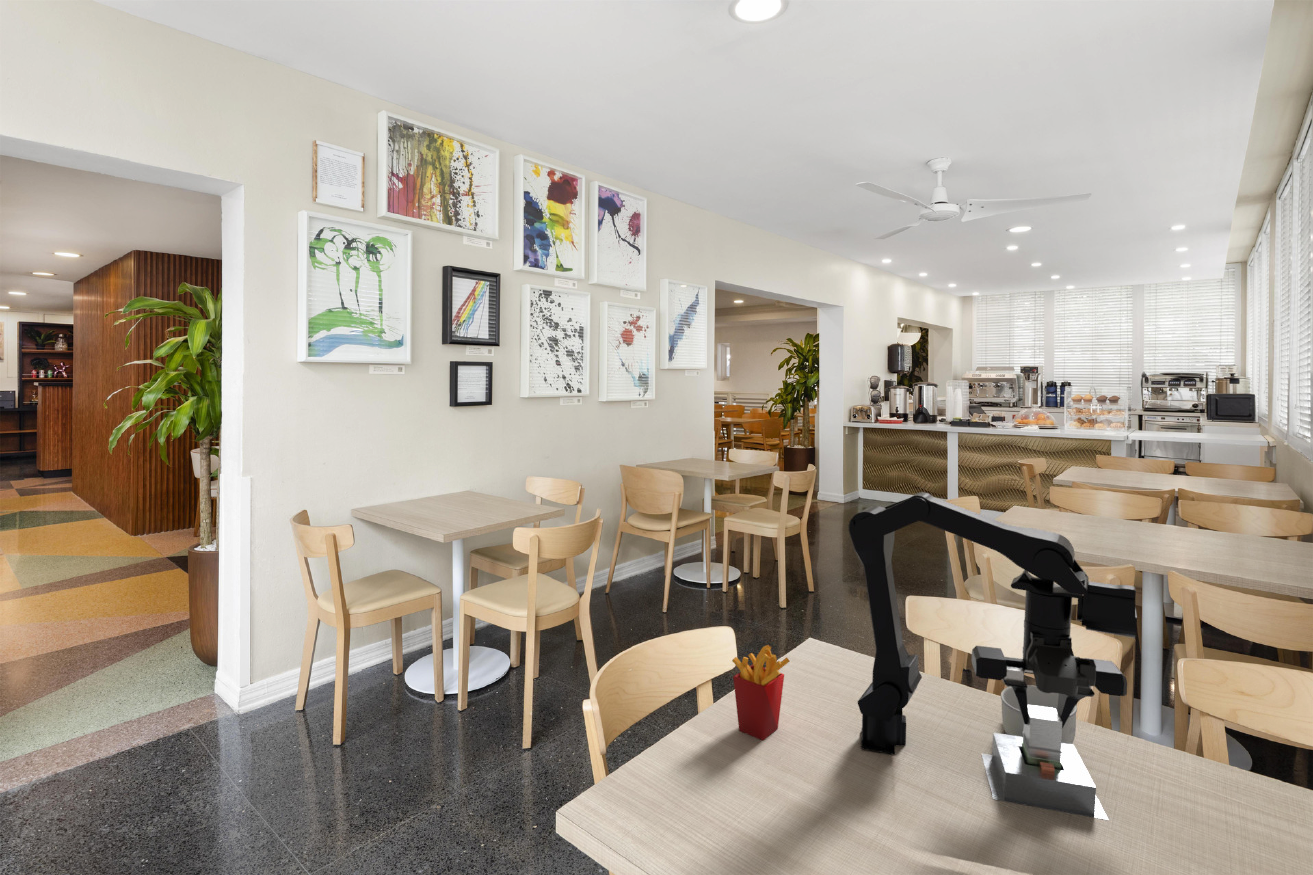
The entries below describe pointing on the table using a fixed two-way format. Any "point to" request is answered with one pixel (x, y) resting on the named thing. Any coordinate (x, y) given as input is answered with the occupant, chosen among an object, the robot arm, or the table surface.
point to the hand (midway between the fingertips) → (1042, 725)
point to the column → (1042, 736)
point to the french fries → (759, 693)
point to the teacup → (1038, 698)
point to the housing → (1041, 779)
